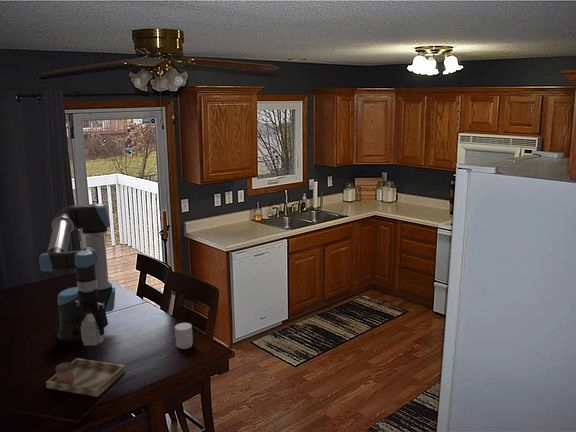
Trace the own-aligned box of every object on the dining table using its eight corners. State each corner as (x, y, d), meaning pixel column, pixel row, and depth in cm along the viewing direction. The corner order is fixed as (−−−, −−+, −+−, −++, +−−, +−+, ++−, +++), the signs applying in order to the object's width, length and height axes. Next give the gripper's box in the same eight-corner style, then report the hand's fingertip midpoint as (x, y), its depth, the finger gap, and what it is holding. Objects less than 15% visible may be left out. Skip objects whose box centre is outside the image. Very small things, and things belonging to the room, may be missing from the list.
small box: (88, 336, 226) (86, 313, 223) (102, 336, 226) (100, 313, 224) (83, 345, 218) (80, 322, 215) (97, 345, 219) (94, 321, 216)
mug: (172, 324, 254) (188, 320, 258) (173, 341, 257) (189, 338, 260) (179, 334, 244) (196, 330, 248) (180, 352, 246) (197, 349, 250)
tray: (46, 389, 217) (45, 382, 216) (77, 365, 236) (76, 357, 235) (98, 398, 211) (97, 390, 210) (125, 372, 230) (125, 365, 229)
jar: (54, 386, 218) (52, 369, 216) (64, 378, 224) (62, 361, 222) (67, 388, 216) (65, 371, 214) (77, 380, 222) (75, 363, 220)
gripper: (60, 290, 215) (66, 341, 221) (103, 295, 210) (108, 347, 216) (72, 283, 222) (77, 333, 228) (114, 288, 217) (118, 339, 223)
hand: (92, 340), depth 222 cm, fingers closed on small box, 7 cm apart
